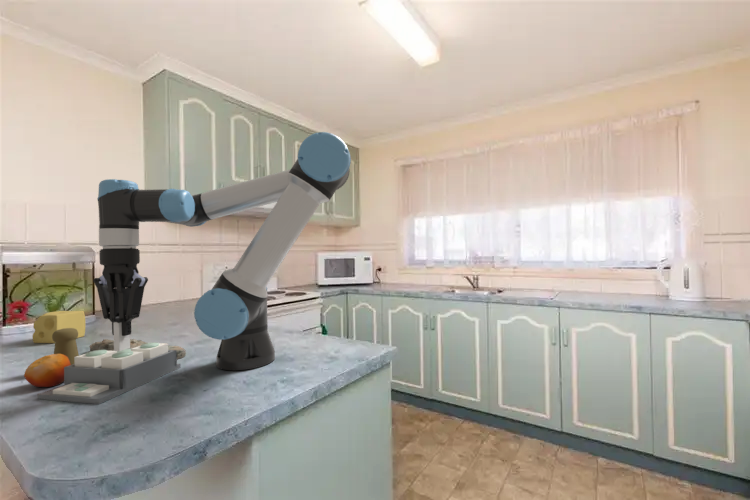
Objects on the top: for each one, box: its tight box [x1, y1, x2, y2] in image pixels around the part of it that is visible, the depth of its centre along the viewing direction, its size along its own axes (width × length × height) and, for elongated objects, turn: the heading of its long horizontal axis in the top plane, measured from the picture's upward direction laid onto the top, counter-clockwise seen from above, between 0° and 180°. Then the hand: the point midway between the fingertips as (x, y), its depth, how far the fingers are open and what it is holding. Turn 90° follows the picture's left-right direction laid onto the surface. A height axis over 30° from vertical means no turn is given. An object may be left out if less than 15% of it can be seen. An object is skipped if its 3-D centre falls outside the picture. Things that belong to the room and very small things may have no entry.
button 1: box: [74, 350, 117, 368], centre depth 82 cm, size 6×6×3 cm
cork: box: [52, 328, 80, 365], centre depth 93 cm, size 6×6×11 cm
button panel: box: [37, 348, 182, 405], centre depth 83 cm, size 16×22×5 cm
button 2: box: [101, 351, 143, 369], centre depth 81 cm, size 6×6×3 cm
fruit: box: [23, 353, 71, 388], centre depth 83 cm, size 8×8×8 cm
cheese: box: [32, 310, 86, 344], centre depth 127 cm, size 10×11×10 cm
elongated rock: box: [89, 338, 187, 360], centre depth 106 cm, size 35×5×10 cm
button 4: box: [131, 342, 169, 359], centre depth 88 cm, size 6×6×3 cm
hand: (122, 349), depth 81 cm, fingers closed
